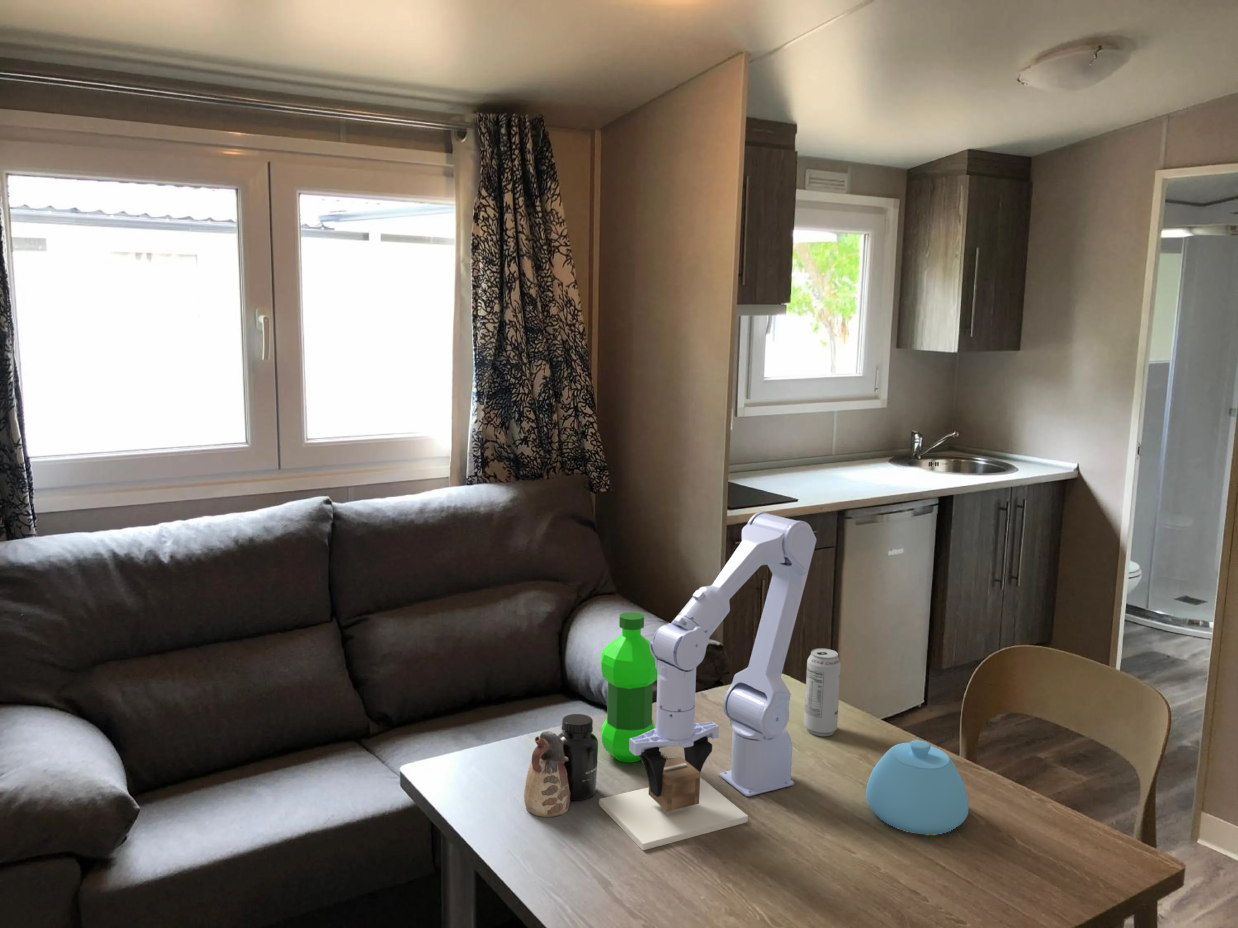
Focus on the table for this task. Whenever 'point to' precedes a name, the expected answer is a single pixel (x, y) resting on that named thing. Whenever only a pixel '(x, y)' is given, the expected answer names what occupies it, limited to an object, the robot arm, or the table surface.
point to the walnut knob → (678, 785)
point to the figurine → (547, 778)
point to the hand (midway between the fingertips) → (673, 789)
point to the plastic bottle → (628, 687)
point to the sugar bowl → (917, 789)
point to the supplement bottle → (580, 755)
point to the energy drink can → (822, 692)
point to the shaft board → (670, 816)
